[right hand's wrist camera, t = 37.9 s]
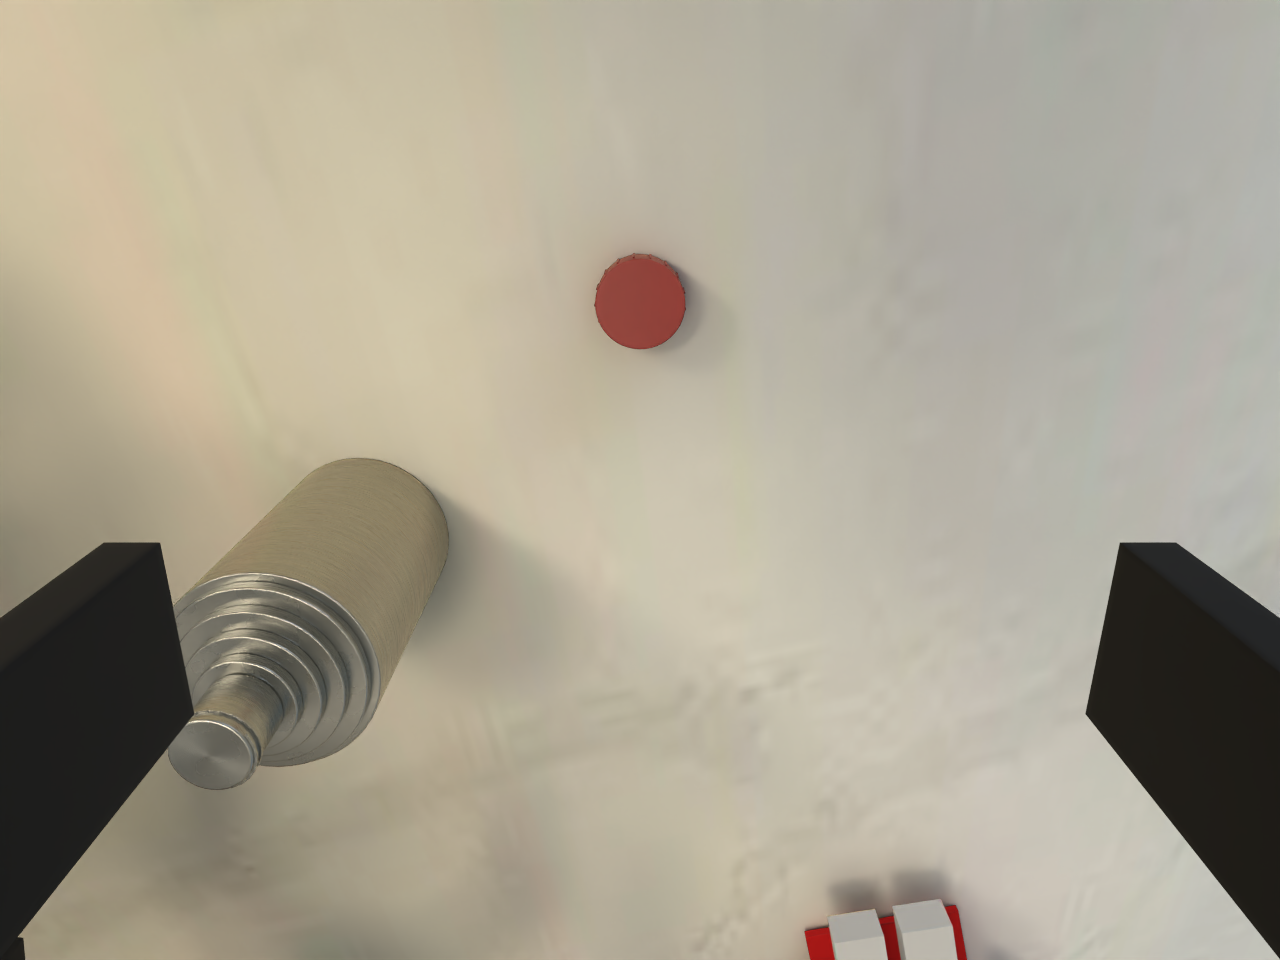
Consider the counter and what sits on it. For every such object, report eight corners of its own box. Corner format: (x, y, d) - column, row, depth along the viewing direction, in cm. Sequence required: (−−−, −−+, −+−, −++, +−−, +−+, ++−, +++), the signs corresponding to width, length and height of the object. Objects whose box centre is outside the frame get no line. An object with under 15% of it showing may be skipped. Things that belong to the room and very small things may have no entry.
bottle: (336, 629, 47) (171, 888, 31) (253, 495, 45) (24, 697, 28) (477, 574, 46) (385, 811, 30) (400, 432, 44) (252, 605, 27)
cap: (662, 355, 42) (663, 364, 40) (582, 321, 42) (579, 328, 40) (698, 275, 41) (701, 280, 39) (616, 238, 40) (615, 242, 39)
